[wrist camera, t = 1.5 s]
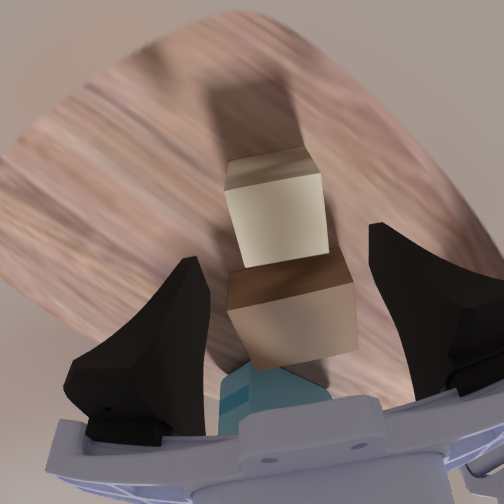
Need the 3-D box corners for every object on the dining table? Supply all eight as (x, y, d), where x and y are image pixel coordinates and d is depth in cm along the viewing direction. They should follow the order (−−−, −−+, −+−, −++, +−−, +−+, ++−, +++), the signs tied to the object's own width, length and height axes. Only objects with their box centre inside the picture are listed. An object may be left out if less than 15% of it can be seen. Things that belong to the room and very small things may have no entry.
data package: (220, 371, 30) (214, 487, 20) (250, 351, 28) (252, 478, 18) (302, 406, 34) (312, 499, 25) (332, 390, 33) (348, 488, 23)
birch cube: (304, 146, 18) (320, 172, 14) (314, 212, 20) (329, 252, 17) (229, 160, 18) (223, 191, 15) (245, 225, 21) (245, 267, 17)
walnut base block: (338, 245, 22) (353, 282, 19) (347, 312, 26) (358, 349, 23) (229, 271, 23) (226, 310, 20) (255, 333, 27) (256, 371, 24)
